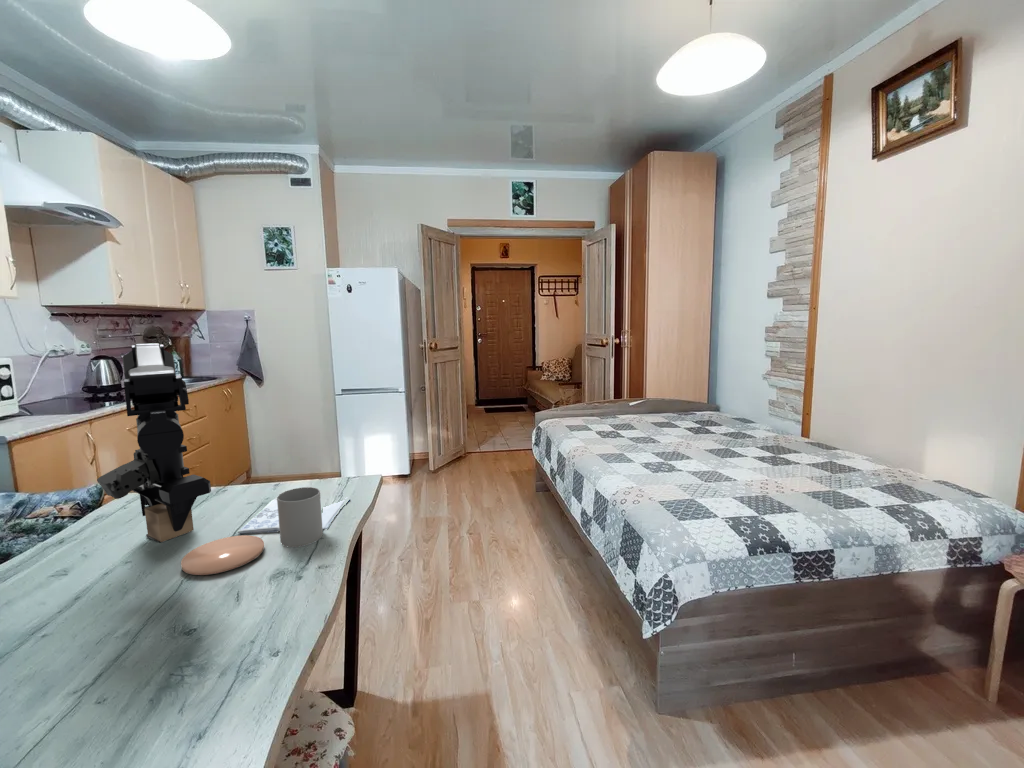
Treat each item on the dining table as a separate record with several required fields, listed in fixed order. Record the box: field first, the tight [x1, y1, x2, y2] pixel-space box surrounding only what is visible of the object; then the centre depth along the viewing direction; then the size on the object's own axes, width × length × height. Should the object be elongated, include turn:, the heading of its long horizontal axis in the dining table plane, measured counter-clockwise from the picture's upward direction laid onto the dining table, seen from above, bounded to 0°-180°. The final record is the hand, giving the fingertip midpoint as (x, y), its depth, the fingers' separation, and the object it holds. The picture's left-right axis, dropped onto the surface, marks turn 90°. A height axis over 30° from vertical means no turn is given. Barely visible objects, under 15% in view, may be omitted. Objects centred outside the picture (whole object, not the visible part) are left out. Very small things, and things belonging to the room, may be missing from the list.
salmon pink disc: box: [180, 534, 265, 576], centre depth 90 cm, size 14×14×1 cm
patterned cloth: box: [237, 496, 349, 535], centre depth 110 cm, size 19×20×2 cm
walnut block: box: [144, 503, 195, 543], centre depth 80 cm, size 5×5×5 cm
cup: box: [276, 486, 324, 548], centre depth 97 cm, size 8×8×10 cm
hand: (170, 527), depth 80 cm, fingers closed on walnut block, 5 cm apart
